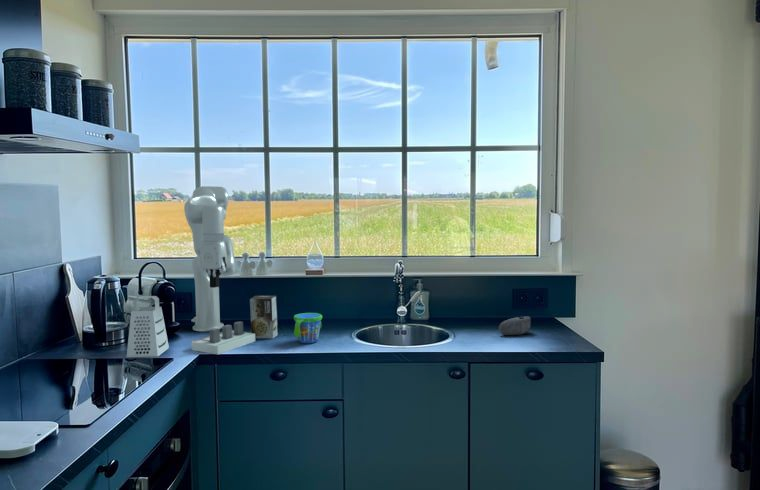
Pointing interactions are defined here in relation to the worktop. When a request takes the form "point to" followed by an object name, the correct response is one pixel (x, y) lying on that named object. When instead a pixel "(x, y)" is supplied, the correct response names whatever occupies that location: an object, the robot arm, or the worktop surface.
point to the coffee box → (264, 316)
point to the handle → (214, 335)
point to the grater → (147, 330)
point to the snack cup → (307, 327)
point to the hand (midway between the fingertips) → (214, 286)
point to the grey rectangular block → (227, 331)
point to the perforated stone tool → (515, 326)
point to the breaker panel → (222, 343)
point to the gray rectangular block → (238, 328)
